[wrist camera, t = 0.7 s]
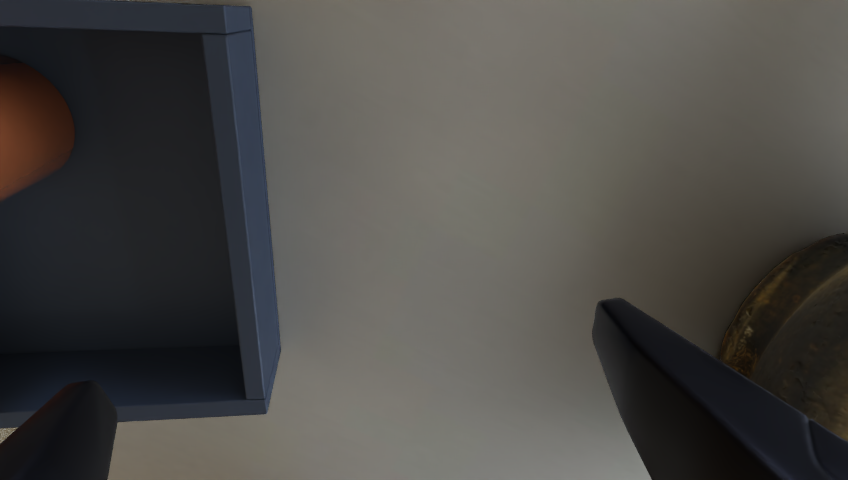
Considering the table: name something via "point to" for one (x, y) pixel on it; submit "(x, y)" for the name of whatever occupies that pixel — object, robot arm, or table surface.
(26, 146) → the bottle
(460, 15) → the table surface
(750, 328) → the pottery vessel
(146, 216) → the bin
